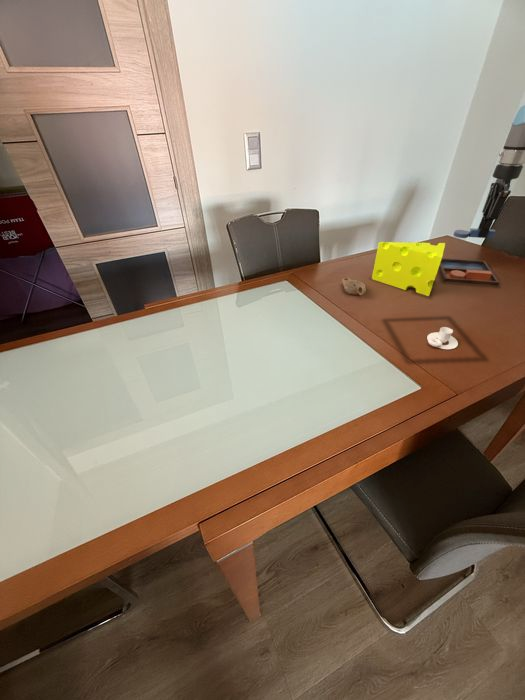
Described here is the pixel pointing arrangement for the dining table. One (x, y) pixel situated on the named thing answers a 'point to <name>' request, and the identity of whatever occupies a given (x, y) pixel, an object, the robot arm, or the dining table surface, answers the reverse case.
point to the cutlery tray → (464, 265)
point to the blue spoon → (472, 233)
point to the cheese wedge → (408, 265)
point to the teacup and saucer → (442, 339)
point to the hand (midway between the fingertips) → (480, 235)
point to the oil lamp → (354, 286)
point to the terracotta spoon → (471, 274)
